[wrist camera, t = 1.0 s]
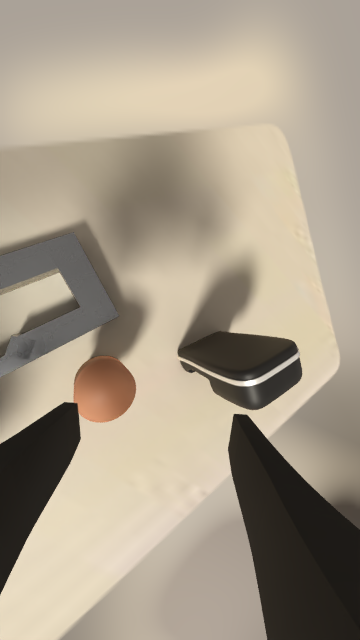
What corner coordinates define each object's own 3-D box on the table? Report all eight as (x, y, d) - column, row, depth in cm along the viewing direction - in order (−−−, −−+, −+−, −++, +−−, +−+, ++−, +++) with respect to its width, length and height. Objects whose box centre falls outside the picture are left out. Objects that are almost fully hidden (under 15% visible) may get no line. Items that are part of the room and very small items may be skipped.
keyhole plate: (-56, 403, 16) (-73, 414, 14) (-135, 310, 14) (-166, 309, 13) (115, 315, 21) (119, 316, 20) (73, 239, 20) (73, 232, 18)
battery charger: (183, 380, 25) (256, 426, 15) (173, 351, 24) (243, 378, 14) (228, 356, 28) (316, 381, 18) (220, 329, 27) (307, 338, 17)
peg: (88, 400, 21) (93, 434, 15) (65, 364, 20) (60, 386, 14) (127, 375, 22) (145, 398, 16) (107, 341, 21) (119, 352, 15)
